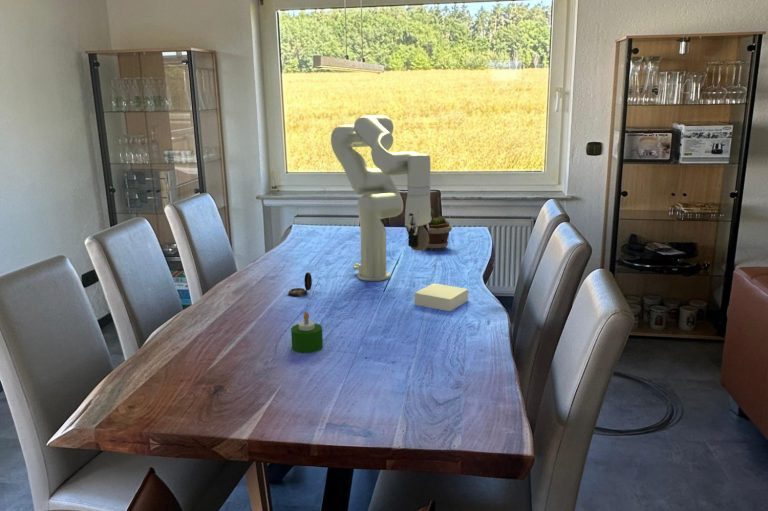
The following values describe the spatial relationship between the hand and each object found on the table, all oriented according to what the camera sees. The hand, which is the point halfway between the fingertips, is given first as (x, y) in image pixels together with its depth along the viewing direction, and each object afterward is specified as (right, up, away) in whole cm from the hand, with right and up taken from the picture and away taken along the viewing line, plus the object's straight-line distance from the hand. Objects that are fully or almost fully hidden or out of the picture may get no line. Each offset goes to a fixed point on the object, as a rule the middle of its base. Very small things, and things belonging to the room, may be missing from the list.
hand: (418, 243), depth 209 cm
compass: (-40, -17, +6) cm, 44 cm away
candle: (-32, -29, -41) cm, 59 cm away
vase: (0, -2, 0) cm, 2 cm away
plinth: (+7, -19, -4) cm, 21 cm away
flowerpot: (+11, -1, +72) cm, 73 cm away
